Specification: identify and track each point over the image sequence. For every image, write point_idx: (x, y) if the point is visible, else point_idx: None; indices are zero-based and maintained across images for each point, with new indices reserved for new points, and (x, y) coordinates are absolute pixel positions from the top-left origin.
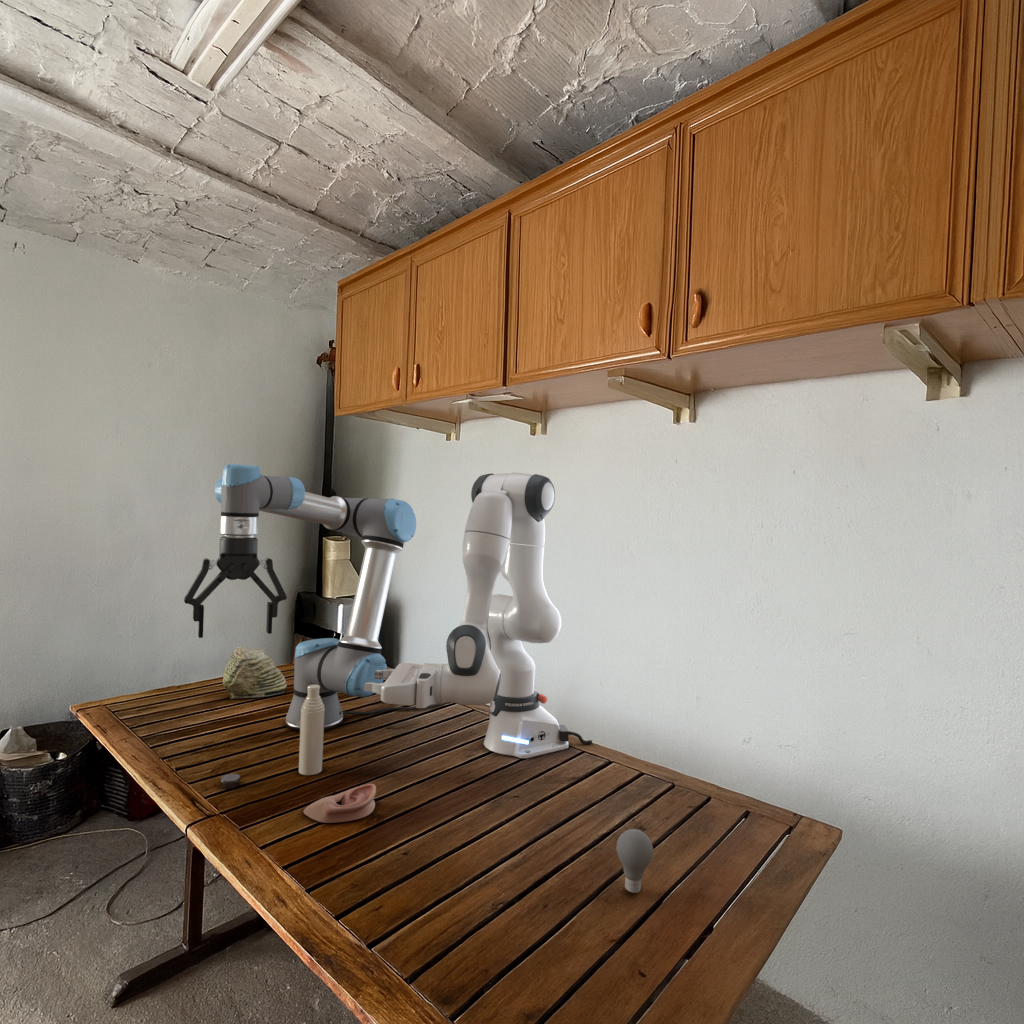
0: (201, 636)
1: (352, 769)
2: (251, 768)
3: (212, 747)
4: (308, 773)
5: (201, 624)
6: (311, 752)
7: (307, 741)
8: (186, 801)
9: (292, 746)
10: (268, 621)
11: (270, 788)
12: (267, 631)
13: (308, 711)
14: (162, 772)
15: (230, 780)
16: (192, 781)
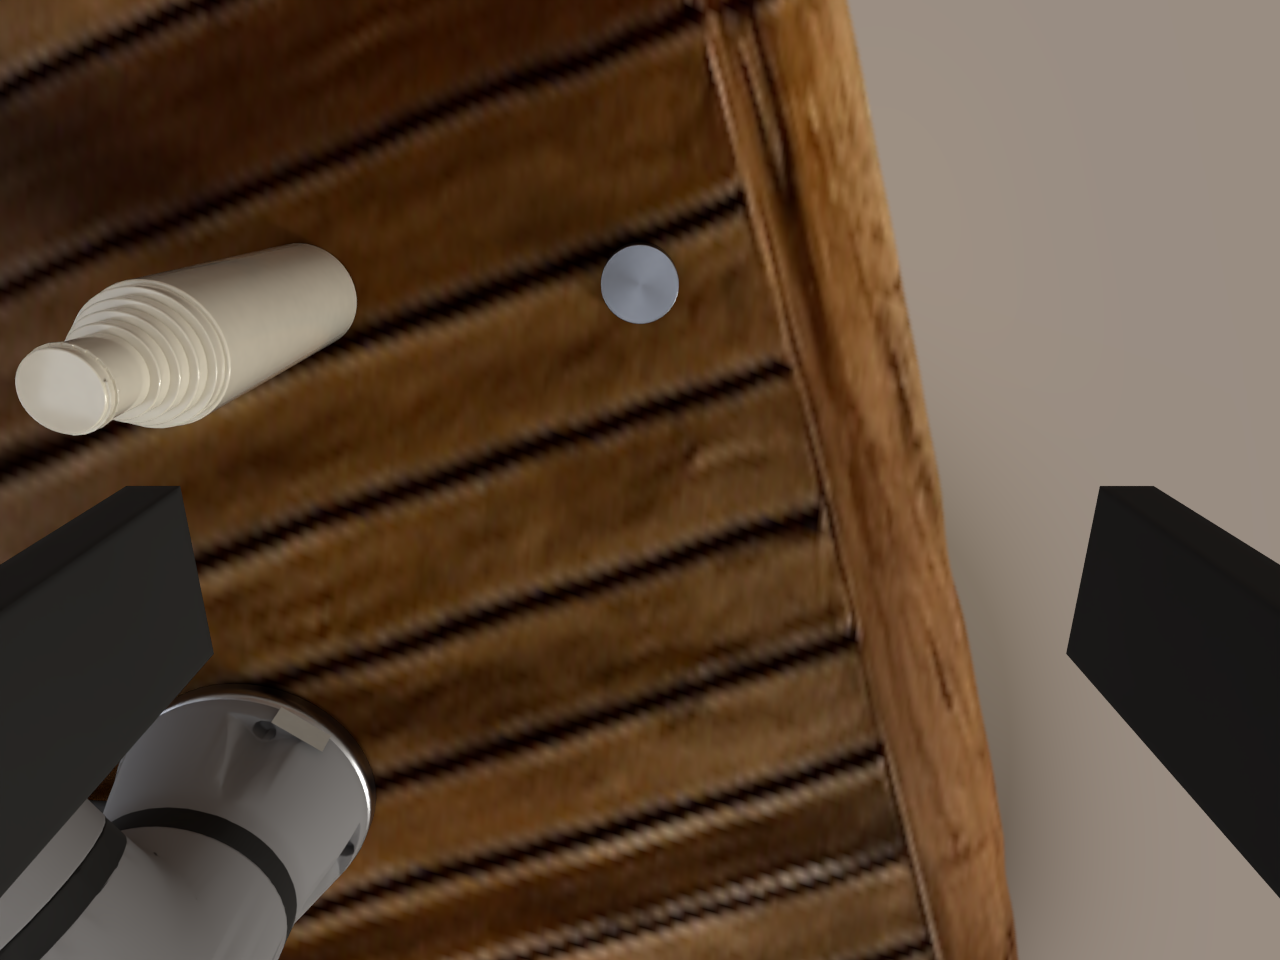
0: (1130, 491)
1: (118, 231)
2: (544, 416)
3: (671, 676)
4: (314, 247)
5: (1264, 574)
6: (265, 253)
7: (263, 269)
8: (814, 194)
9: (364, 575)
10: (57, 575)
11: (485, 178)
12: (181, 554)
13: (181, 297)
14: (868, 509)
15: (643, 251)
16: (774, 380)
